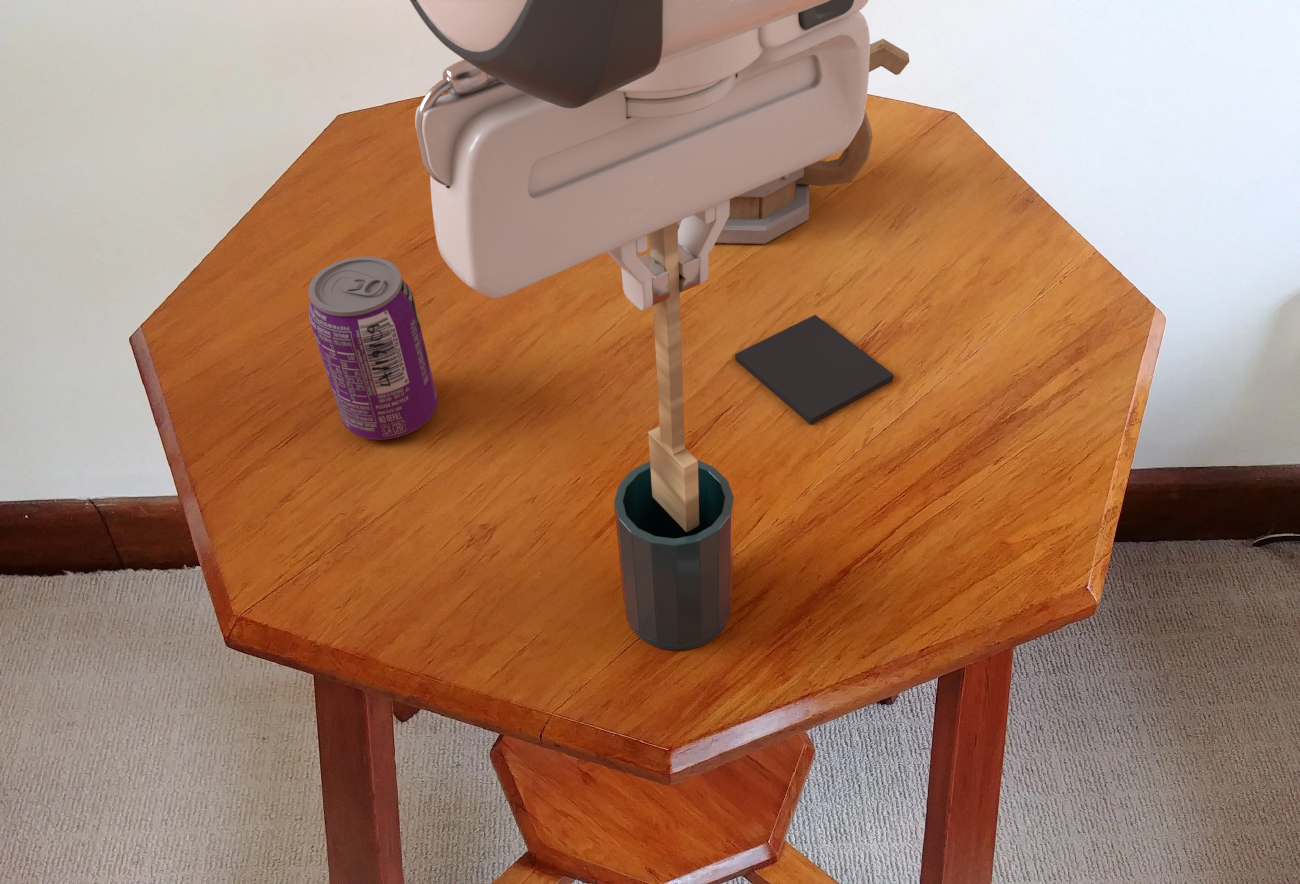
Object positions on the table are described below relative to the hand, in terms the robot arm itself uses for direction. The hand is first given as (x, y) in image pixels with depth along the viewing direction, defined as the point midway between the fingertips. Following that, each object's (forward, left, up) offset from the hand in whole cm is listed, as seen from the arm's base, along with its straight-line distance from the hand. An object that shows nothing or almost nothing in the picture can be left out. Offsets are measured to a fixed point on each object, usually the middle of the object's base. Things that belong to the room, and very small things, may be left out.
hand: (666, 290), depth 52 cm
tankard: (+31, -33, -25) cm, 52 cm away
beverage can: (+27, +7, -25) cm, 37 cm away
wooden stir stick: (0, 0, -16) cm, 15 cm away
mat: (+12, -21, -25) cm, 34 cm away
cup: (0, 0, -25) cm, 25 cm away
